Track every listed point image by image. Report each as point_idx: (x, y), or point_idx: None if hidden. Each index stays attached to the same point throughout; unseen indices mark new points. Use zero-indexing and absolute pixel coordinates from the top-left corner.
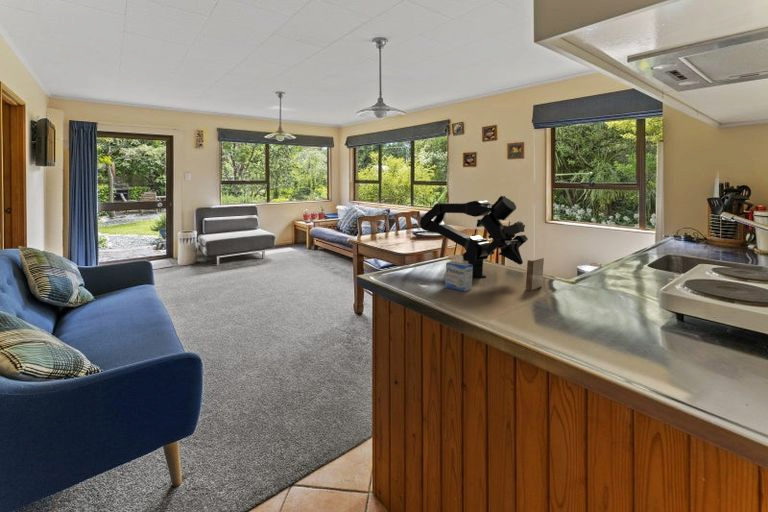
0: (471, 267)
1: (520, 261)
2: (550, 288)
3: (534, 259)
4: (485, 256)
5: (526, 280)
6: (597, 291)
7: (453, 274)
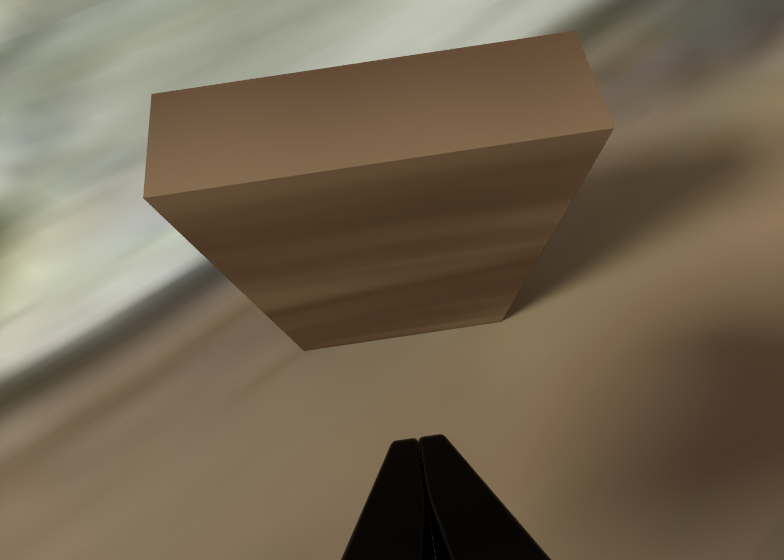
0: None
1: (461, 459)
2: None
3: (427, 100)
4: None
5: (517, 288)
6: (116, 39)
7: None
